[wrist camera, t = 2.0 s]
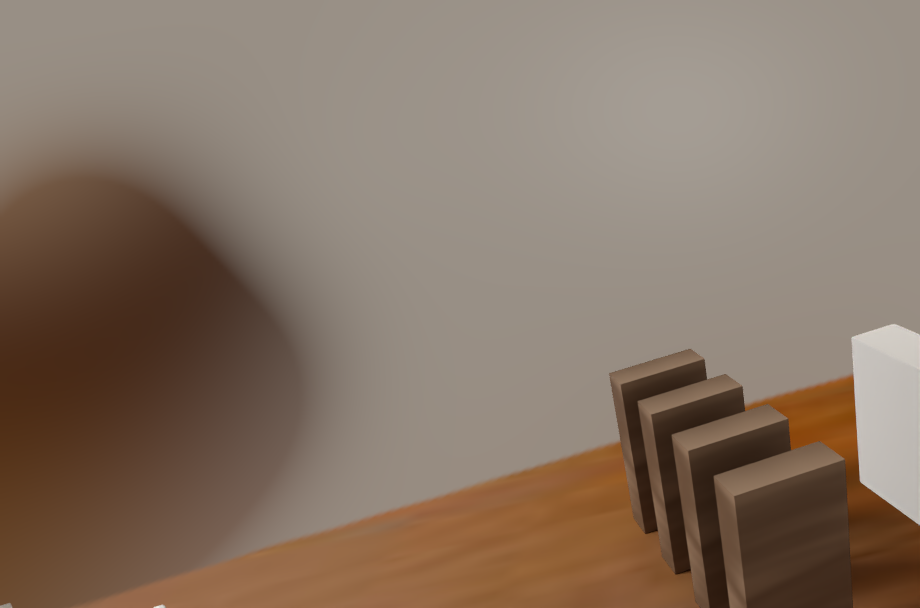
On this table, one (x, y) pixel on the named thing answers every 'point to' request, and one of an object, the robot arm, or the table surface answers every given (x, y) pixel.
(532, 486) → the table surface
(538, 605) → the table surface
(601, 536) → the table surface
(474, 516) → the table surface
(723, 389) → the walnut domino
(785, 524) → the walnut domino
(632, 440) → the walnut domino
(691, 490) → the walnut domino
